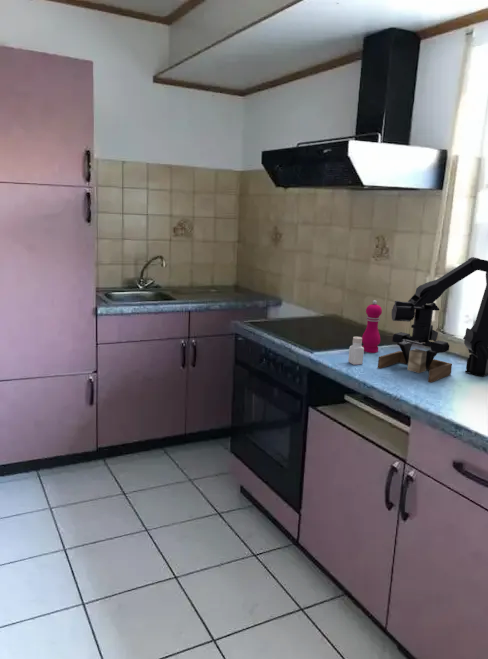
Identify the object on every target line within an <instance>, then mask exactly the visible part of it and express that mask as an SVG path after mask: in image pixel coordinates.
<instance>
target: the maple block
mask: <svg viewBox="0 0 488 659" xmlns="http://www.w3.org/2000/svg"><path fill="white" fill-rule="evenodd" d="M427 351H428V350H423V349H421V348H420V349H419V348H414V349H410V353H409V361H408V364H407V371H409V372H414V373H417V374H421V373H424V372H426V371H427V369H426V354H427Z"/></svg>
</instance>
